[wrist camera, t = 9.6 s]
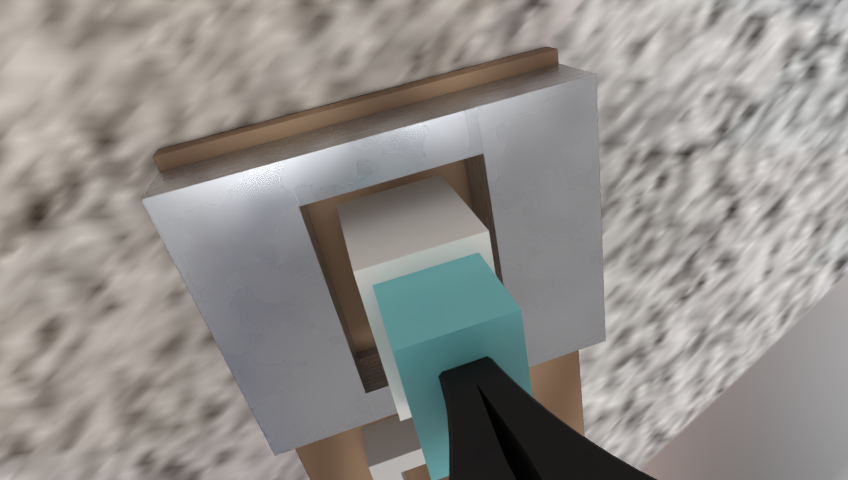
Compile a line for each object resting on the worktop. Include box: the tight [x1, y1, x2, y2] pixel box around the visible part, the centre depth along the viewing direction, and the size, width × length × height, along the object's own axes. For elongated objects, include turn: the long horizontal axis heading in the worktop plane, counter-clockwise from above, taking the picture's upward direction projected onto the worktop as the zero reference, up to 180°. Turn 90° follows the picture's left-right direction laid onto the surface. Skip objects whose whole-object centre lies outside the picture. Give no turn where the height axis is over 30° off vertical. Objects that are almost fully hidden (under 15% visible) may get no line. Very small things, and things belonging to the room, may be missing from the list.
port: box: [141, 64, 606, 455], centre depth 19 cm, size 14×11×2 cm
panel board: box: [153, 47, 584, 480], centre depth 23 cm, size 14×24×1 cm, turn 12°
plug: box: [336, 175, 533, 480], centre depth 17 cm, size 4×6×8 cm, turn 11°
